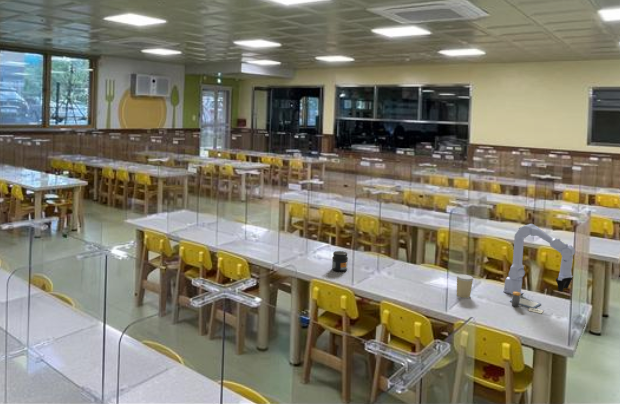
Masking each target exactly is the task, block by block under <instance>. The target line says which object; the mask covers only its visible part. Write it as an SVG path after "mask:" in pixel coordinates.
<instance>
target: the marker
mask: <svg viewBox="0 0 620 404" xmlns="http://www.w3.org/2000/svg"><path fill="white" fill-rule="evenodd" d="M521 295H522V294H521V293H520V292H513V294H512V296H511V297H512V298H511V300H512V302H511V306H512V307H514V308H519V307H520V305H519V302H520V298H521Z"/></svg>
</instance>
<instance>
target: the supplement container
mask: <svg viewBox="0 0 620 404" xmlns="http://www.w3.org/2000/svg"><path fill="white" fill-rule="evenodd" d="M332 255H333V256H332V257H331V258H332V259H331V262H332V265H331V270H332V271H333V272H338V273H344V272H346V271H347V270H348V262H349V261H348V260H349V258H348V252H346V251H343V250H342V251H341V250H336V251H333V253H332Z"/></svg>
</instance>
